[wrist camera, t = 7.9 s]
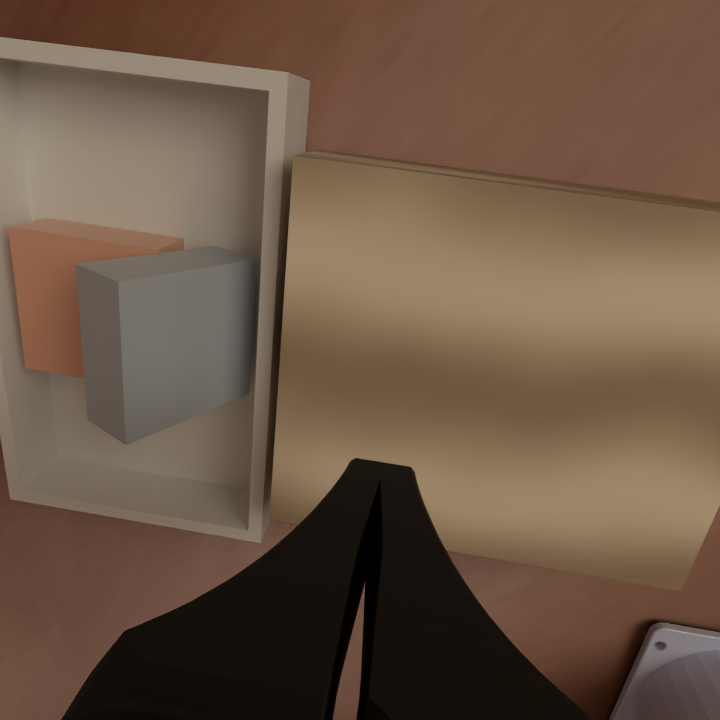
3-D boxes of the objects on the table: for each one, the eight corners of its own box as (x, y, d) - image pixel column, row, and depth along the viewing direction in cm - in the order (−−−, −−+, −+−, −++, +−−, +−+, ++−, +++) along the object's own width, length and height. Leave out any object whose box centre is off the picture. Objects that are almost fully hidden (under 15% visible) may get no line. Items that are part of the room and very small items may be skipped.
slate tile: (126, 445, 17) (87, 419, 18) (249, 393, 20) (212, 375, 21) (117, 282, 15) (75, 264, 16) (256, 259, 18) (215, 246, 19)
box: (280, 495, 24) (260, 543, 21) (57, 457, 25) (10, 499, 22) (310, 81, 18) (288, 72, 15) (10, 44, 18) (-65, 29, 16)
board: (639, 514, 22) (681, 591, 19) (294, 457, 23) (269, 519, 19) (758, 207, 18) (845, 228, 14) (320, 150, 18) (293, 155, 15)
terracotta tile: (25, 368, 20) (59, 348, 22) (161, 390, 20) (184, 368, 21) (7, 227, 18) (47, 217, 20) (158, 249, 18) (184, 238, 19)
